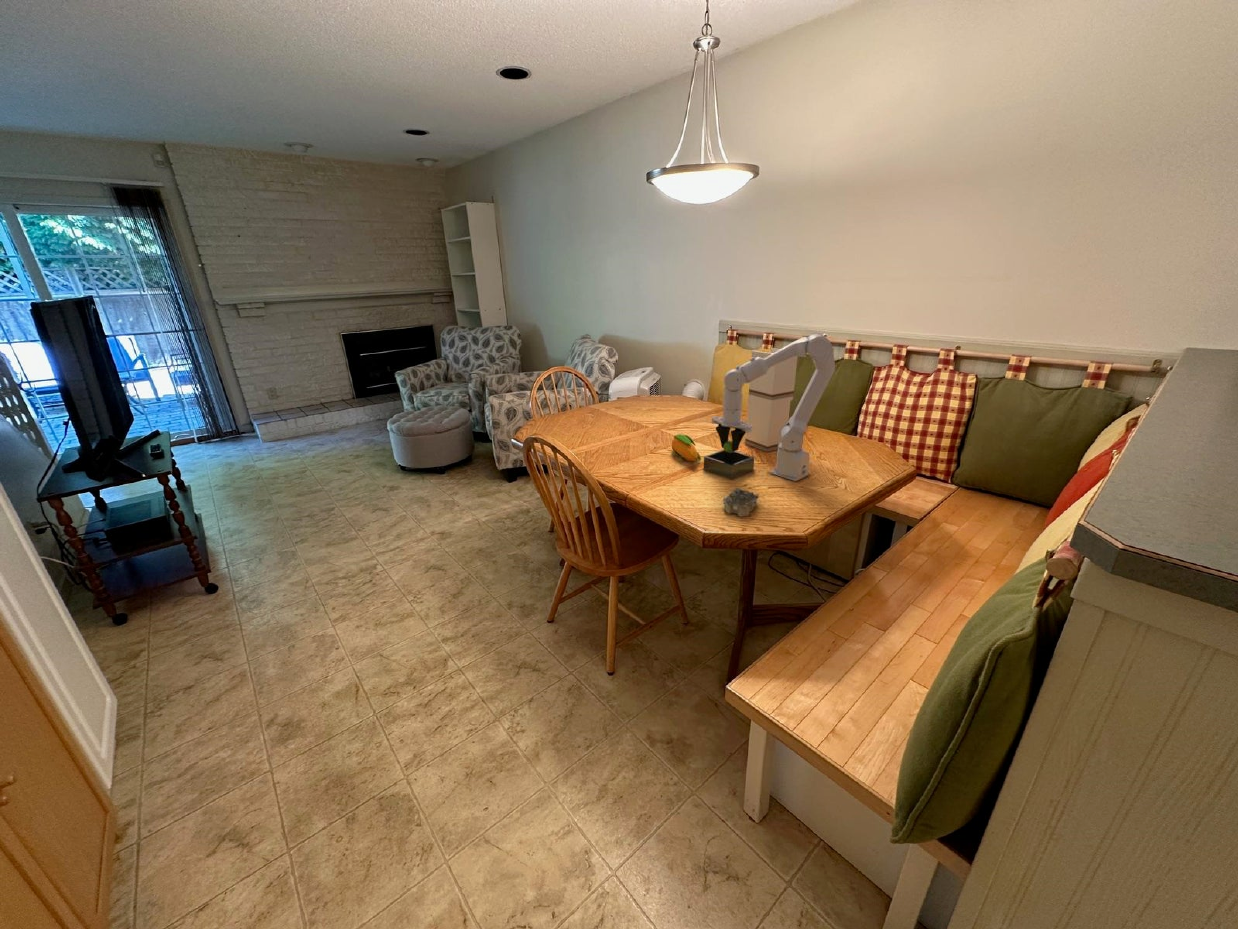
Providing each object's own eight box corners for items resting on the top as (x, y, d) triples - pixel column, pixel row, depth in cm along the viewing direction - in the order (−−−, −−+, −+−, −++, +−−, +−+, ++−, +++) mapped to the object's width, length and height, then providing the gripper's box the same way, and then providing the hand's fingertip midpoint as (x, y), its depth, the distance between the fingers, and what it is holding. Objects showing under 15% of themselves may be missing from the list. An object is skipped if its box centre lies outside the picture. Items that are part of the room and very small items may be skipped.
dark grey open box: (753, 469, 158) (754, 457, 157) (731, 479, 152) (732, 465, 150) (725, 460, 167) (726, 448, 165) (703, 469, 160) (704, 456, 158)
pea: (738, 452, 156) (739, 441, 155) (730, 455, 154) (731, 444, 153) (728, 449, 159) (729, 438, 158) (720, 452, 157) (721, 441, 155)
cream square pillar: (787, 446, 179) (798, 351, 166) (766, 451, 174) (775, 354, 161) (765, 438, 188) (773, 348, 175) (744, 443, 183) (751, 350, 170)
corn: (685, 428, 177) (707, 445, 159) (686, 447, 180) (708, 466, 162) (667, 431, 176) (686, 448, 158) (668, 450, 179) (687, 470, 161)
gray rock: (745, 519, 127) (746, 505, 125) (719, 511, 131) (720, 498, 130) (760, 504, 135) (762, 490, 133) (735, 497, 139) (736, 484, 137)
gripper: (706, 406, 154) (704, 446, 159) (743, 415, 144) (740, 457, 149) (720, 402, 158) (718, 441, 163) (757, 410, 148) (753, 451, 153)
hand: (729, 448), depth 156 cm, fingers closed on pea, 4 cm apart
